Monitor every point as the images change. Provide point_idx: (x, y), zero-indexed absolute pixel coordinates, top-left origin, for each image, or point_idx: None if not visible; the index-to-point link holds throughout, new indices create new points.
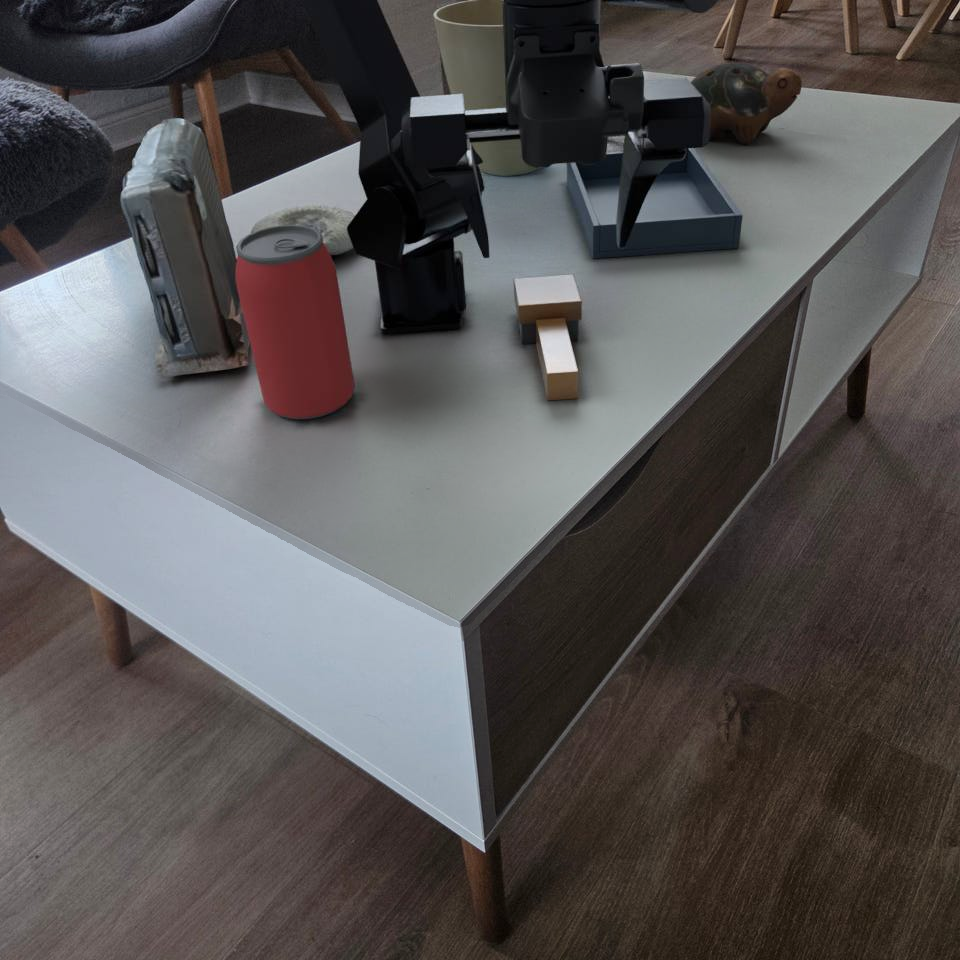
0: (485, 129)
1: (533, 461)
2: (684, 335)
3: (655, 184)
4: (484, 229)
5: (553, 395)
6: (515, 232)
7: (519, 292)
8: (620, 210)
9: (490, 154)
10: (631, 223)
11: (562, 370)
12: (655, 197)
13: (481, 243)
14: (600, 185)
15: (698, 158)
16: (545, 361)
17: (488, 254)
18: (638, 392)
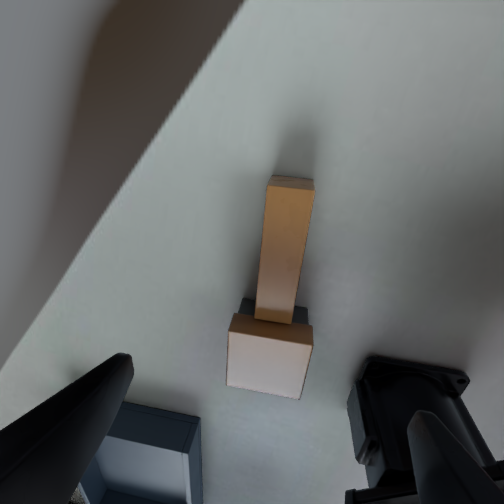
0: None
1: (385, 6)
2: (129, 275)
3: (132, 484)
4: (478, 499)
5: (304, 180)
6: (261, 472)
7: (302, 371)
8: (78, 444)
9: None
10: (63, 395)
11: (289, 193)
12: (133, 471)
13: (461, 452)
14: (175, 498)
15: (86, 500)
16: (307, 224)
17: (425, 417)
18: (194, 171)
